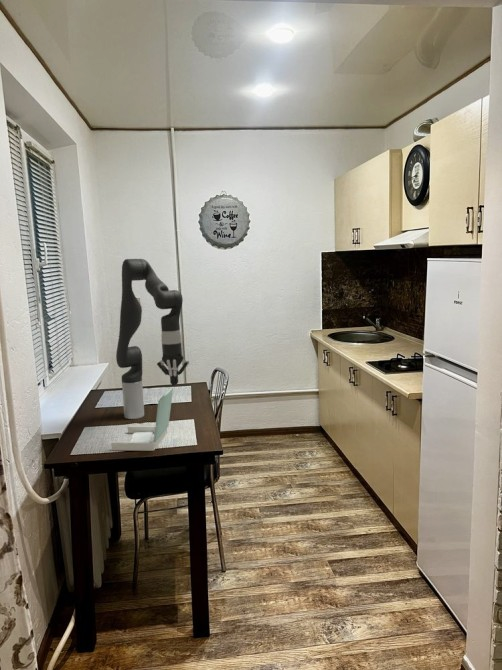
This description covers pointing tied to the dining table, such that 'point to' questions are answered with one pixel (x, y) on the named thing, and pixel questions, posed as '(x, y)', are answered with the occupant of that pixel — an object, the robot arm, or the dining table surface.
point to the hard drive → (141, 437)
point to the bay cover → (163, 414)
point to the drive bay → (138, 445)
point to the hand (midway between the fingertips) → (174, 384)
